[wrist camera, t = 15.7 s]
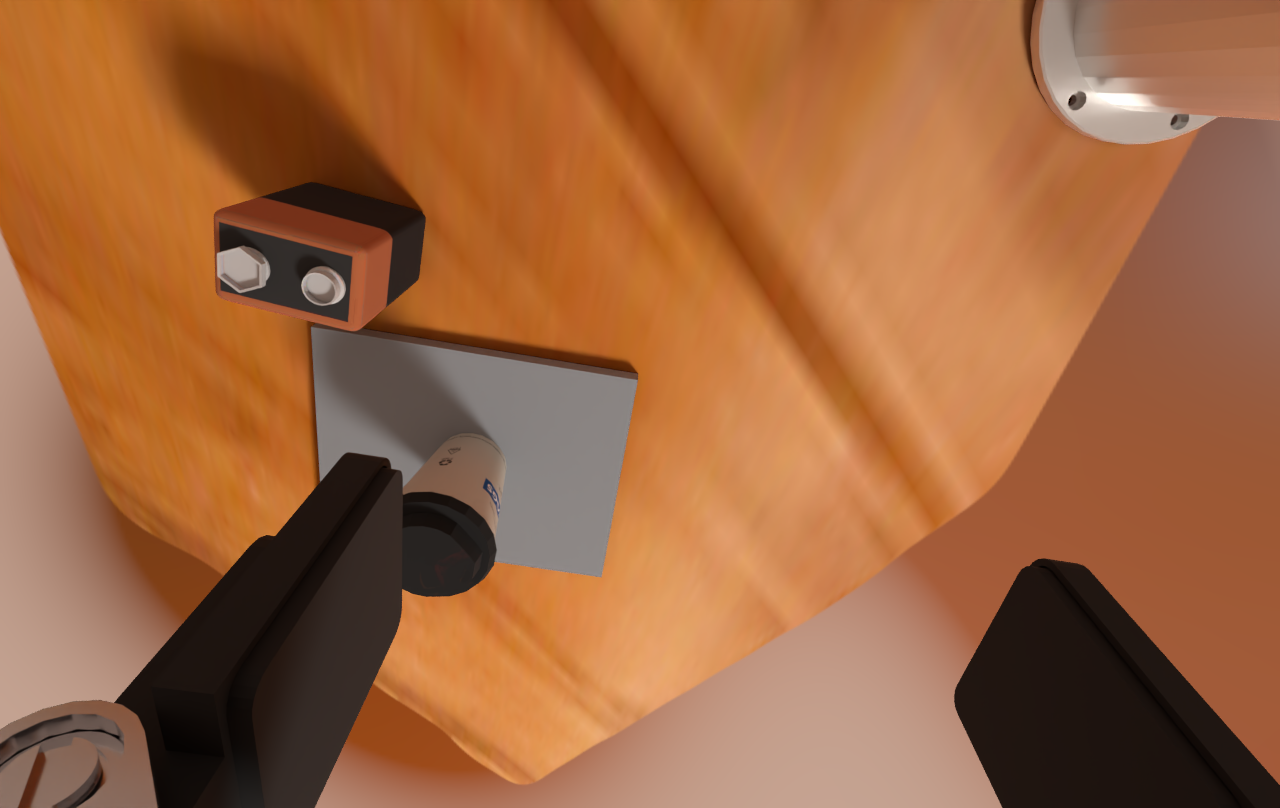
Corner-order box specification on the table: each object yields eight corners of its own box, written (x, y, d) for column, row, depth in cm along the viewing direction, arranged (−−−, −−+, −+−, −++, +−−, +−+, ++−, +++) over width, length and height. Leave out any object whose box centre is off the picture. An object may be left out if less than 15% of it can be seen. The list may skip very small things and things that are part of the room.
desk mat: (638, 373, 41) (637, 380, 40) (602, 568, 48) (601, 577, 48) (318, 321, 40) (310, 326, 39) (329, 528, 47) (323, 536, 46)
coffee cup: (407, 484, 44) (344, 586, 35) (436, 400, 41) (376, 489, 32) (504, 519, 45) (467, 627, 36) (539, 440, 43) (508, 536, 34)
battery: (308, 178, 37) (195, 210, 28) (429, 211, 37) (357, 252, 28) (305, 253, 38) (199, 306, 30) (420, 283, 39) (351, 343, 30)
